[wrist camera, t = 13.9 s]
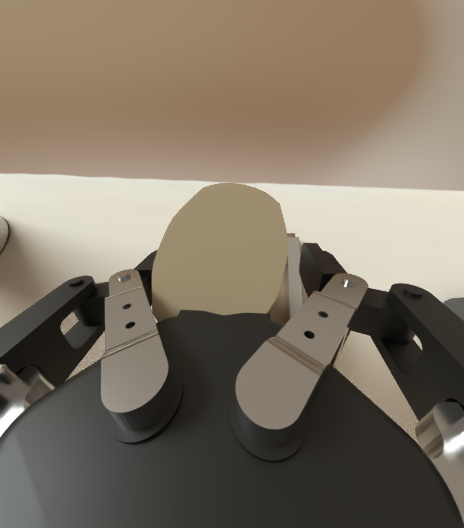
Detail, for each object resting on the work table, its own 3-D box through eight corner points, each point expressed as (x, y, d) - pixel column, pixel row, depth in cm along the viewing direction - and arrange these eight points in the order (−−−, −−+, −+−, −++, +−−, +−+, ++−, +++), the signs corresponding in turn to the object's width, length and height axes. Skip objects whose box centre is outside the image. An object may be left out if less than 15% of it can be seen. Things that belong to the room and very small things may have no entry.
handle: (269, 275, 22) (303, 196, 7) (254, 331, 20) (258, 370, 6) (229, 264, 22) (190, 174, 8) (212, 317, 21) (127, 321, 7)
